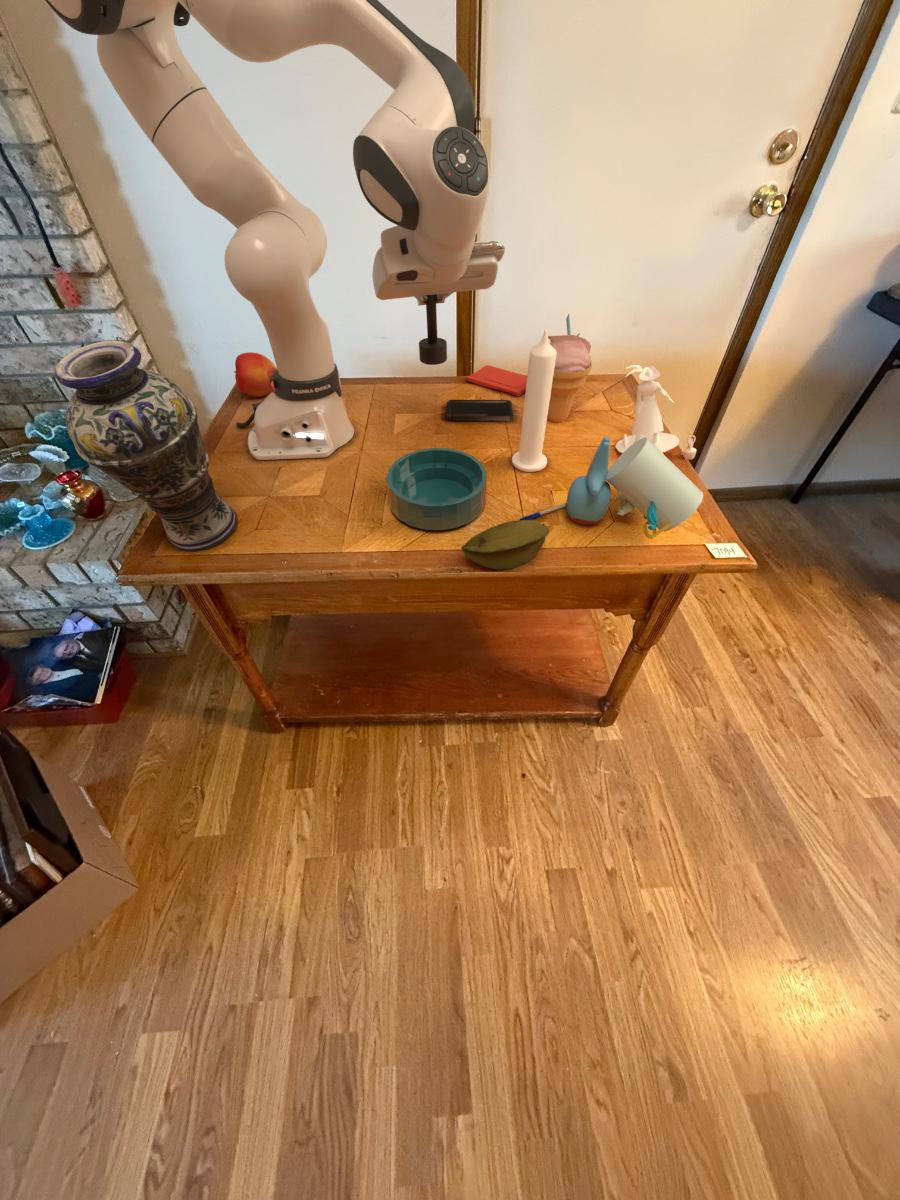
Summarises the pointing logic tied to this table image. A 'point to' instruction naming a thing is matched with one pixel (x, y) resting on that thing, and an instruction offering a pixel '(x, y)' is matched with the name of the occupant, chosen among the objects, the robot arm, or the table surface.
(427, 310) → the dark post on base
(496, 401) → the phone
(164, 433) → the vase
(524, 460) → the candle
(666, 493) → the pale green cylinder
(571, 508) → the toy
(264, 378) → the apple
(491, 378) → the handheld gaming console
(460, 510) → the bowl
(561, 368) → the ice cream cone
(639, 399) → the figurine
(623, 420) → the table surface
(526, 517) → the ballpoint pen
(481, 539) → the fruit
